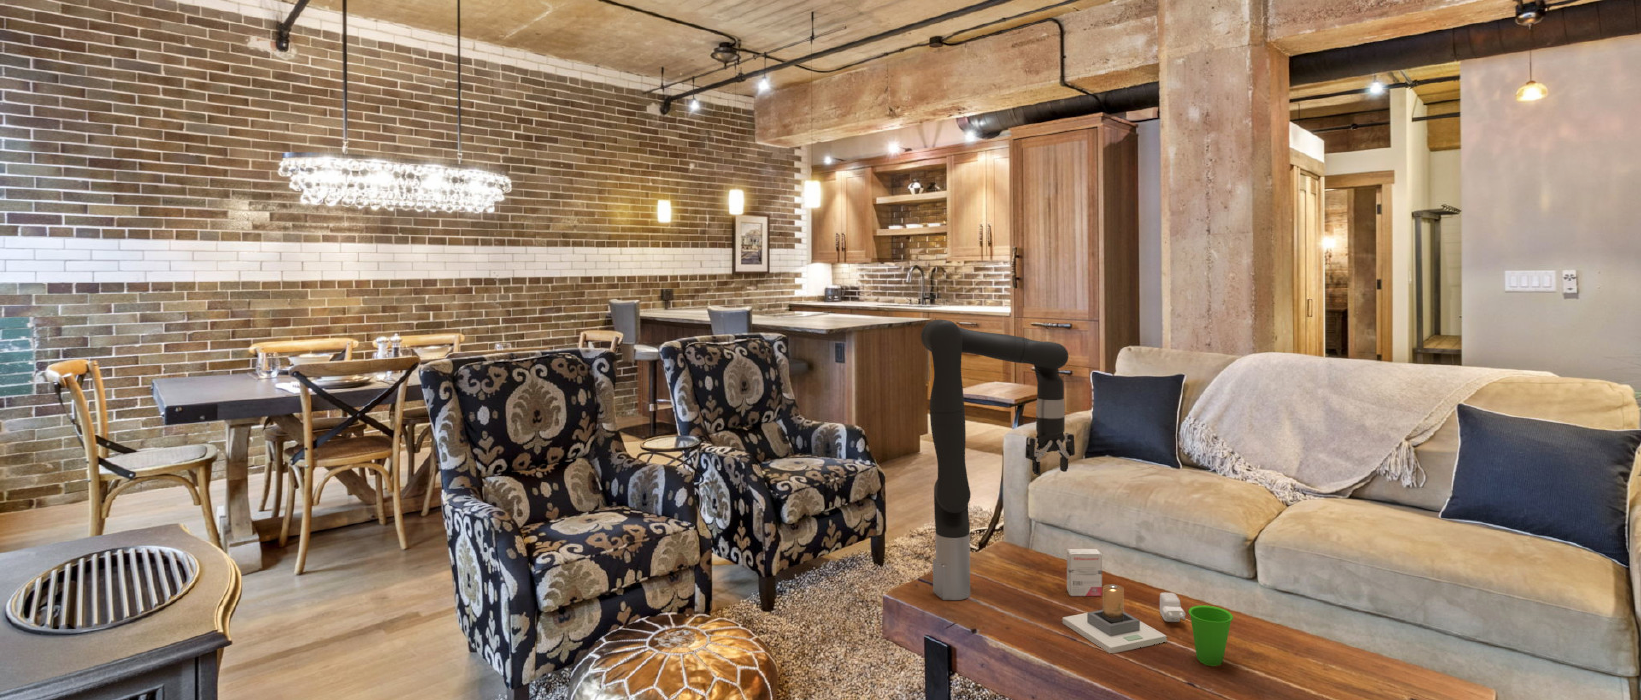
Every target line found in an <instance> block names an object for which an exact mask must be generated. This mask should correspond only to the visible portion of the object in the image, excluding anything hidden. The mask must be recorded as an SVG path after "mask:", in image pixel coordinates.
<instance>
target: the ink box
mask: <svg viewBox="0 0 1641 700" xmlns="http://www.w3.org/2000/svg"><path fill="white" fill-rule="evenodd" d="M1066 590H1067V593H1068V595H1069V596H1070V597H1103V554H1102V552H1101V551H1100V550H1099V549H1098V548H1066Z"/></svg>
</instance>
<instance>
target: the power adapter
mask: <svg viewBox="0 0 1641 700" xmlns="http://www.w3.org/2000/svg"><path fill="white" fill-rule="evenodd" d="M1159 613H1160V616H1161V617H1162V619H1163V621H1165V622H1167V623H1168V622H1169V623H1179V622H1181V619H1182V620H1183V621H1186V615H1187V613H1186V612H1185V610H1184V609H1183V608H1182V607H1181V600H1180V598H1179V596H1178V595H1177V594H1176V593H1174V592H1161V593H1160V594H1159Z"/></svg>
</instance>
